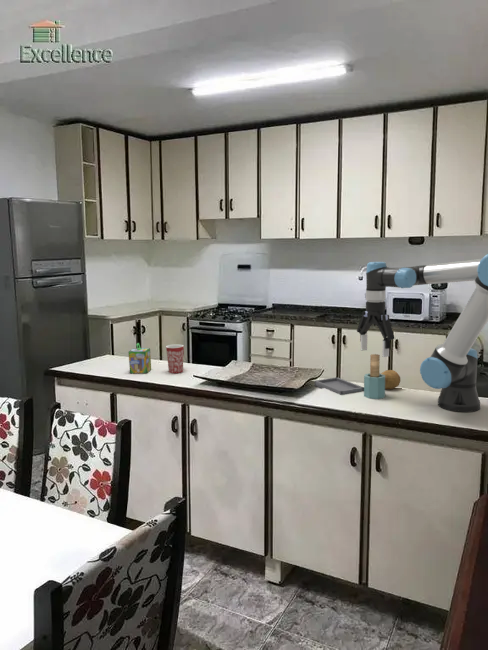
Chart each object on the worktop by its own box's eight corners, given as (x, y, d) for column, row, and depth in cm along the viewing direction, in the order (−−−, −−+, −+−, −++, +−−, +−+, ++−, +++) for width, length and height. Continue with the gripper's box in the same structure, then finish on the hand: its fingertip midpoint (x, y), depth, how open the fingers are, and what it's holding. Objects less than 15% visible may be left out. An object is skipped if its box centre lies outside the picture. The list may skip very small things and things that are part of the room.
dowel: (380, 396, 214) (381, 355, 211) (373, 397, 212) (374, 356, 209) (375, 394, 217) (375, 353, 214) (368, 395, 215) (368, 354, 213)
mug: (179, 374, 262) (177, 348, 260) (163, 373, 266) (162, 347, 264) (191, 368, 273) (190, 343, 271) (176, 367, 277) (175, 342, 275)
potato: (402, 385, 232) (402, 368, 231) (398, 394, 219) (398, 375, 218) (379, 383, 236) (380, 366, 235) (374, 392, 223) (374, 373, 222)
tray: (364, 393, 222) (364, 387, 222) (340, 397, 217) (340, 391, 217) (336, 382, 240) (336, 377, 240) (314, 385, 235) (314, 380, 235)
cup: (389, 399, 213) (389, 376, 211) (372, 402, 209) (373, 379, 208) (376, 394, 220) (376, 372, 218) (360, 397, 217) (360, 374, 215)
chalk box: (146, 373, 266) (145, 345, 263) (129, 373, 267) (127, 345, 264) (152, 369, 275) (150, 341, 272) (135, 369, 276) (133, 341, 274)
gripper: (404, 303, 199) (403, 358, 202) (363, 297, 221) (362, 346, 225) (389, 304, 196) (387, 360, 199) (348, 298, 218) (348, 348, 222)
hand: (374, 353), depth 212 cm, fingers open, 13 cm apart
